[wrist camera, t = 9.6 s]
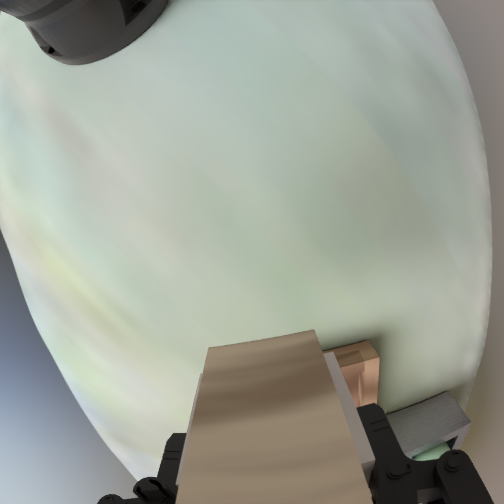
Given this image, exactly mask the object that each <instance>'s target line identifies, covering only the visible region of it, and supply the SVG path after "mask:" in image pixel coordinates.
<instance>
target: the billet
mask: <svg viewBox="0 0 504 504" xmlns="http://www.w3.org/2000/svg"><path fill="white" fill-rule="evenodd" d="M175 504H373V502H372V498H371V495H370V492H369V488H368V485H367V482H366V479H365V476H364V472H363V469H362V466H361V463H360V460H359V457H358V454H357V451H356V447H355V444H354V441H353V438H352V435H351V432H350V429H349V426H348V423H347V420H346V417H345V414H344V412H343V409H342V406H341V403H340V400H339V397H338V394H337V391H336V388H335V386H334V383H333V380H332V377H331V374H330V371H329V369H328V366H327V363H326V360H325V357H324V355H323V352H322V349H321V346H320V344H319V341H318V338H317V336H316V333H315V330H314V329H313V330H308V331H304V332H299V333H294V334H289V335H283V336H278V337H273V338H267V339H261V340H256V341H250V342H243V343H237V344H230V345H224V346H217V347H209V348H208V352H207V357H206V361H205V365H204V370H203V374H202V379H201V383H200V388H199V392H198V397H197V401H196V406H195V411H194V415H193V420H192V424H191V429H190V434H189V439H188V443H187V448H186V453H185V458H184V463H183V468H182V473H181V478H180V483H179V488H178V493H177V498H176V503H175Z"/></svg>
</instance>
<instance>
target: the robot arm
mask: <svg viewBox="0 0 504 504" xmlns="http://www.w3.org/2000/svg"><path fill="white" fill-rule="evenodd" d="M167 2H168V0H0V10H1V11H3V12H6V13H8V14H10V15H12V16H14V17H16V18H18V19H20V20H21V21H23V22H24V23H25V24H26V26H27V28H28V29H29V31H30V32H31V34H32V36H33V37H34V39H35V40H36V42H37V43H38V45H39V46H40V48H41V49H42V51H43V52H44V53H45V54H47V55H48V56H49V57H51V58H53V59H55V60H57V61H59V62H61V63H64V64H68V65H83V64H88V63H92V62H95V61H98V60H101V59H103V58H106V57H108V56H110V55H112V54H114V53H116V52H117V51H119V50H121V49H122V48H124V47H125V46H127V45H128V44H130V43H131V42H132V41H134V40H135V39H136V38H137V37H139V36H140V35H141V34H142V33H143V32H144V31H145V30H146V29H148V28H149V27H150V25H151V24H152V23H153V22H154V21H155V20H156V19H157V17H158V16H159V15H160V13H161V12H162V11H163V9H164V7H165V6H166V4H167ZM323 355H324V357H325V360H326V363H327V366H328V369H329V371H330V374H331V377H332V380H333V383H334V386H335V388H336V391H337V394H338V397H339V400H340V403H341V406H342V409H343V412H344V414H345V417H346V420H347V423H348V426H349V429H350V432H351V435H352V438H353V441H354V444H355V447H356V451H357V454H358V457H359V460H360V463H361V466H362V469H363V472H364V476H365V479H366V482H367V485H368V488H370V491H371V494H372V497H371V498H372V502H373V504H420V503H422V504H494V503H493V501H492V499H491V497H490V495H489V493H488V491H487V489H486V487H485V485H484V483H483V481H482V480H481V478H480V476H479V474H478V472H477V470H476V469H475V467H474V465H473V463H472V462H471V460H470V458H469V456H468V455H467V454H466V453H465V452H464V451H461V450H459V449H452V450H449V451H446V452H445V453H443V454H442V455H441V456H440V457H439V459H432V460H425V461H416V460H412V459H410V458H408V457H407V456H406V455H405V454H404V453H403V451H402V449H401V447H400V444H399V442H398V440H397V438H396V436H395V434H394V432H393V429H392V427H391V426H390V423H389V421H388V420H387V417H386V415H385V413H384V410H383V409H382V408H381V407H380V406H378V405H377V404H376V403H375V402H374V403H371V404H367V405H364V406H360V407H357V408H356V407H355V404H354V402H353V399H352V397H351V394H350V392H349V389H348V387H347V384H346V382H345V379H344V377H343V374H342V372H341V369H340V367H339V364H338V362H337V359H336V357H335V355H334V352H329V353H324V354H323ZM202 374H203V373H202ZM202 374H200V378H199V382H198V386H197V390H196V395H195V399H194V403H193V408H192V412H191V416H190V421H189V425H188V430H187V433H173V434H172V435H171V437H170V438H169V439H168V441H167V442H166V446H165V449H164V453H163V457H162V460H161V464H160V468H159V472H158V475H157V478H156V477H146V478H143V479H141V480H140V481H138V482H137V483H136V484H135V486H134V488H133V492H134V493H135V494H136V495H137V496H138V497H139V498H132V499H124V500H123V499H122V498H121V497H120V496H118V495H115V494H109V495H105V496H104V497H102V498H101V499H100V500H99V502H98V503H97V504H175V503H176V498H177V493H178V488H179V483H180V478H181V473H182V468H183V463H184V458H185V453H186V448H187V443H188V439H189V434H190V429H191V424H192V420H193V415H194V411H195V406H196V401H197V397H198V392H199V388H200V383H201V379H202Z"/></svg>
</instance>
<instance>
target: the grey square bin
mask: <svg viewBox="0 0 504 504" xmlns="http://www.w3.org/2000/svg"><path fill="white" fill-rule="evenodd" d="M386 417H387V420H388V421H389V423H390V426H391V427H392V429H393V432H394V434H395V436H396V438H397V440H398V442H399V444H400V447H401V449H402V451H403V453H404V454H405V455H406V456H407V457H408V458H410V459H412V456H414V455H417V454H419V453H422V452H424V451H426V450H428V449H431V448H433V447H435V446H437V445H439V444H442V443H444V442H446V443H447V445H448V447H449V448H450V450H452V449H459V448H460V446H461V444H462V442H463V440H464V438H465V436H466V433H467V431H468V429H469V427H470V424H471V421H470V419H469V418H468V417H467V415H466V414H465V413H464V411H463V410H462V409H461V407H460V406H459V405H458V404H457V402H456V401H455V400H454V398H453V397H452V396H451V394H450V393H449V392H448V391H447V392H444V393H442V394H440V395H438V396H435V397H433V398H431V399H428V400H426V401H423V402H421V403H418V404H416V405H413V406H411V407H408V408H405V409H402V410H400V411H397V412H394V413H391V414H388V415H386Z"/></svg>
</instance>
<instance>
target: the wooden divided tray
mask: <svg viewBox="0 0 504 504" xmlns="http://www.w3.org/2000/svg"><path fill="white" fill-rule="evenodd" d="M329 352H334V355H335V357H336V359H337V362H338V364H339V367H340V369H341V372H342V374H343V377H344V379H345V382H346V384H347V387H348V389H349V392H350V394H351V397H352V399H353V402H354V404H355V407H356V408H357V407H360V406H364V405H367V404H371V403H374V402H375V403H376V404H377V396H378V381H379V359H380V357H379V355H378V354H377V352H376V351H375V349H374V348H373V346H372V345H371V343H370V342H369V340H367V341H363V342H360V343H356V344H352V345H348V346H344V347H340V348H336V349H331V350H327V351H323V354H324V353H329Z"/></svg>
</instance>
